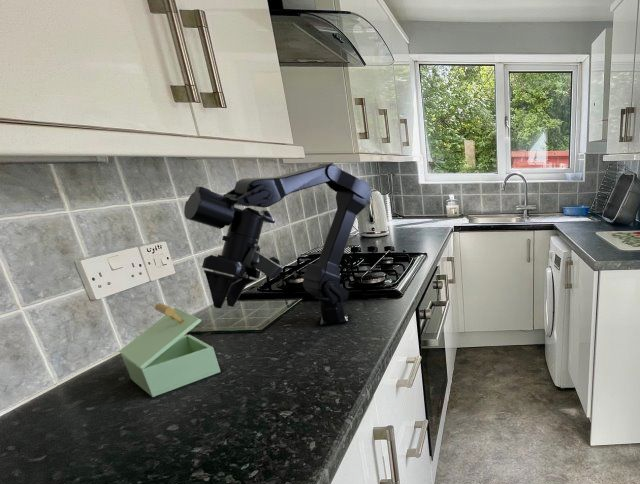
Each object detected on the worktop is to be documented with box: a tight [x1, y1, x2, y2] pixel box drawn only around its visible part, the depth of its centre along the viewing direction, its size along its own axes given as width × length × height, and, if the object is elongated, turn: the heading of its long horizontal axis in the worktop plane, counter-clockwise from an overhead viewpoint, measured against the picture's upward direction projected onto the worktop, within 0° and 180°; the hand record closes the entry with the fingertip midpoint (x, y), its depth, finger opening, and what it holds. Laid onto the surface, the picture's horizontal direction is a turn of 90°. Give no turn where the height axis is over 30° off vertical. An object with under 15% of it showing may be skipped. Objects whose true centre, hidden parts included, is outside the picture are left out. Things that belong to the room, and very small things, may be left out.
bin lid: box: [118, 302, 202, 369], centre depth 78 cm, size 12×11×4 cm
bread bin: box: [120, 334, 221, 398], centre depth 82 cm, size 11×11×6 cm
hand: (224, 307), depth 87 cm, fingers open, 9 cm apart
